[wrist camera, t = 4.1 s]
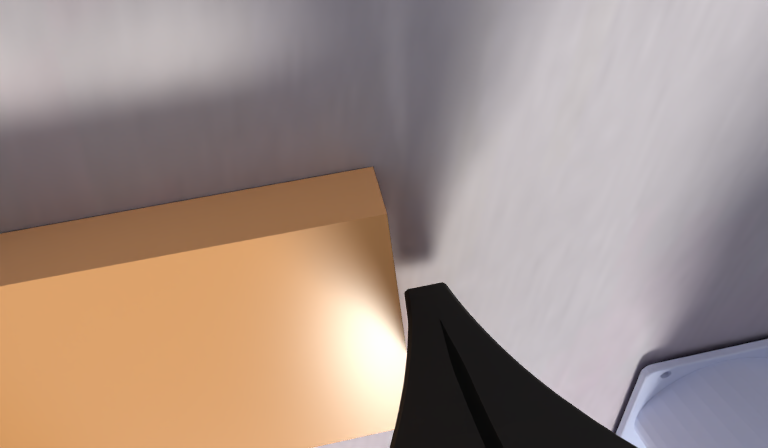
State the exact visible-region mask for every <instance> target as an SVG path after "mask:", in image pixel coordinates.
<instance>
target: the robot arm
mask: <svg viewBox="0 0 768 448" xmlns="http://www.w3.org/2000/svg"><path fill="white" fill-rule="evenodd" d="M405 301H406V309H407V316H408V348H407V358H406V367H405V376H404V383H403V389H402V395H401V400H400V406H399V411H398V415H397V420H396V424H395V429H394V433H393V437H392V441H391V445H390V448H768V339H764V340H760V341H755V342H750V343H746V344H741V345H737V346H732V347H728V348H723V349H718V350H714V351H709V352H705V353H700V354H696V355H691V356H687V357H682V358H677V359H673V360H668V361H664V362H659V363H655V364H651V365H648V366H646V367H645V368H644V369H642V371H641V373H640V375H639V378H638V380H637V383H636V385H635V387H634V390H633V392H632V395H631V397H630V400H629V402H628V405H627V407H626V410H625V412H624V415H623V417H622V419H621V422H620V424H619V427H618V429H617V432H616V434H615V433H613V432H612V431H610V430H609V429H607V428H606V427H604V426H602V425H601V424H599V423H598V422H596V421H595V420H593V419H592V418H590V417H589V416H587V415H586V414H585V413H583V412H582V411H580V410H579V409H577V408H576V407H575V406H573V405H572V404H570V403H569V402H567V401H566V400H565V399H563V398H562V397H560V396H559V395H558V394H556V393H555V392H554V391H552V390H551V389H550V388H549V387H547V386H546V385H545V384H543V383H542V382H541V381H540V380H538V379H537V378H536V377H535V376H534V375H532V374H531V373H530V372H529V371H527V370H526V369H525V368H524V367H523V366H522V365H520V364H519V363H518V362H517V361H516V360H515V359H514V358H513V357H512V356H510V355H509V354H508V353H507V352H506V351H505V350H504V349H503V348H502V347H501V346H500V345H499V344H498V343H497V342H496V341H495V340H494V339H493V338H492V337H491V336H490V335H489V334H488V333H487V332H486V331H485V330H484V329H483V328H482V327H481V326H480V325H479V324H478V323H477V322H476V320H475V319H474V318H473V317H472V316H471V315H470V314H469V313H468V311H467V310H466V309H465V308H464V307H463V306H462V304H461V303H460V302H459V301H458V299H457V298H456V297H455V296H454V294H453V293H452V292H451V290H450V289H449V288H448V286H447V285H446V284H445V283H443V282H442V283H437V284H432V285H427V286H422V287H417V288H412V289H408V290H407V291H406V292H405Z"/></svg>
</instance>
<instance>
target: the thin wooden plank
mask: <svg viewBox="0 0 768 448" xmlns="http://www.w3.org/2000/svg"><path fill="white" fill-rule="evenodd" d="M406 358H407V351H406V344H405V337H404V330H403V323H402V316H401V309H400V302H399V295H398V287H397V280H396V273H395V266H394V259H393V252H392V245H391V238H390V231H389V224H388V217H387V212H386V209H385V205H384V202H383V199H382V195H381V192H380V188H379V185H378V182H377V178H376V175H375V171H374V168H373V167H368V168H362V169H357V170H351V171H346V172H340V173H335V174H329V175H324V176H318V177H312V178H307V179H301V180H296V181H290V182H285V183H279V184H274V185H268V186H262V187H257V188H251V189H246V190H240V191H235V192H229V193H223V194H218V195H212V196H207V197H201V198H196V199H190V200H185V201H179V202H173V203H168V204H162V205H157V206H151V207H146V208H140V209H135V210H129V211H123V212H118V213H112V214H107V215H101V216H96V217H90V218H84V219H79V220H73V221H68V222H62V223H57V224H51V225H46V226H40V227H34V228H29V229H23V230H18V231H12V232H7V233H1V234H0V448H313V447H317V446H322V445H327V444H331V443H336V442H340V441H345V440H350V439H354V438H359V437H363V436H368V435H373V434H377V433H382V432H386V431H391V430H394V429H395V424H396V420H397V415H398V411H399V406H400V400H401V395H402V389H403V383H404V376H405V367H406Z"/></svg>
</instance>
